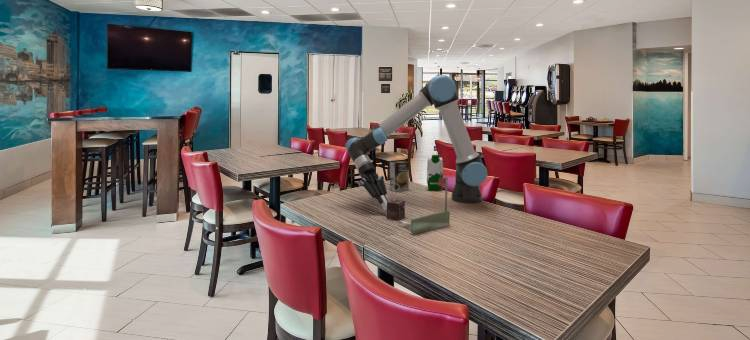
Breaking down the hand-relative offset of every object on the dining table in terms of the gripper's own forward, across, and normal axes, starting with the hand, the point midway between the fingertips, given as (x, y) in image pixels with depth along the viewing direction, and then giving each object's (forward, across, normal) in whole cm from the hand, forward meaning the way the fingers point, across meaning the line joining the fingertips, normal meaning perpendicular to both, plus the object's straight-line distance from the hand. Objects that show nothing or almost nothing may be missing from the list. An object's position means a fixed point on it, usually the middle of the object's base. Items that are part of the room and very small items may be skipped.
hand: (387, 208), depth 193 cm
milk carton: (-15, -55, -20) cm, 60 cm away
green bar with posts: (+16, -1, +12) cm, 20 cm away
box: (+6, 0, +2) cm, 6 cm away
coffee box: (-23, -38, -28) cm, 53 cm away
